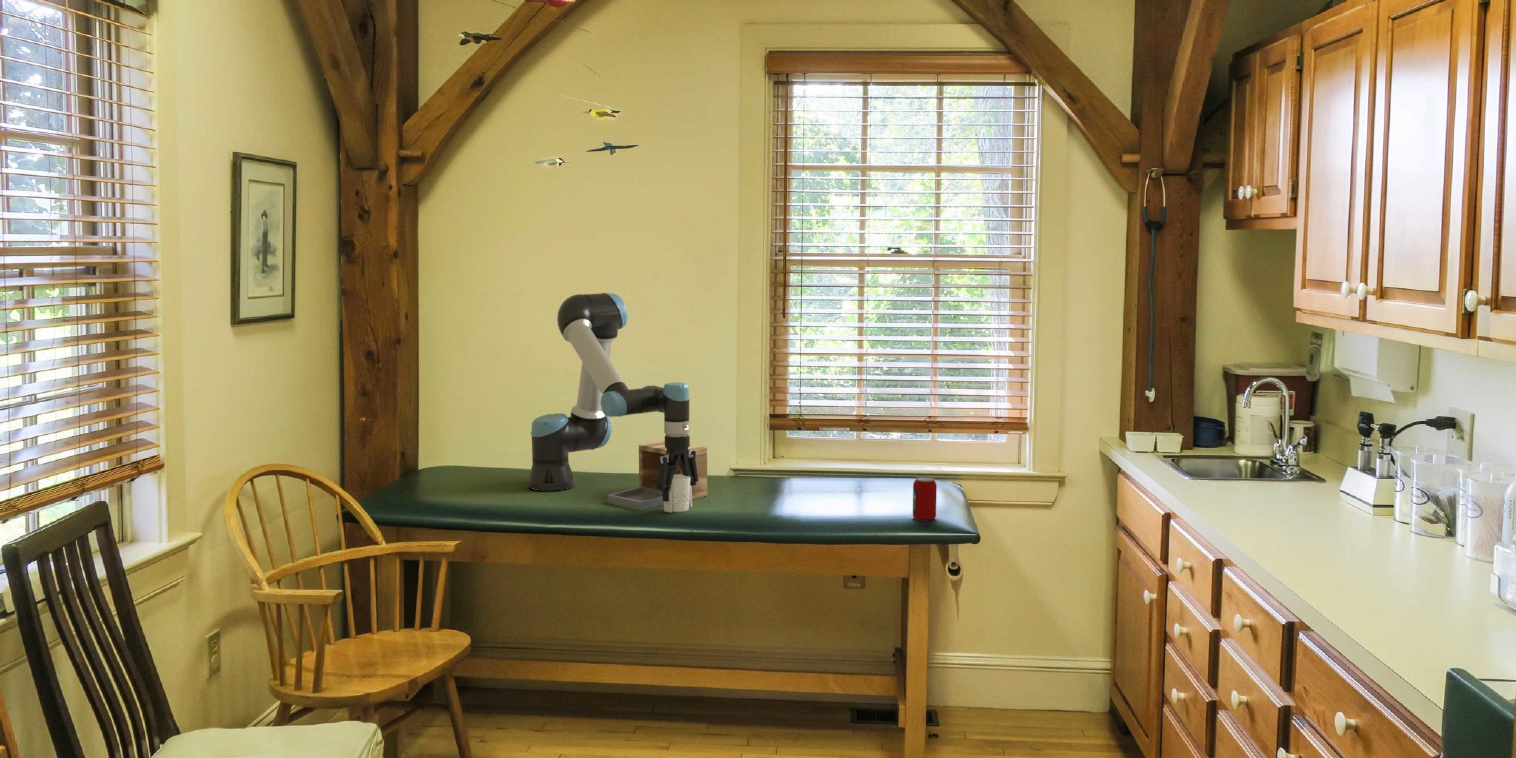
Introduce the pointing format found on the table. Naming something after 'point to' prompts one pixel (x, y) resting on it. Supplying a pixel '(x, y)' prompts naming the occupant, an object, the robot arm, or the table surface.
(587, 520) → the table surface
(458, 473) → the table surface
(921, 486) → the beverage can
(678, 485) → the white cup
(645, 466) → the wooden crate
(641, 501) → the tray
